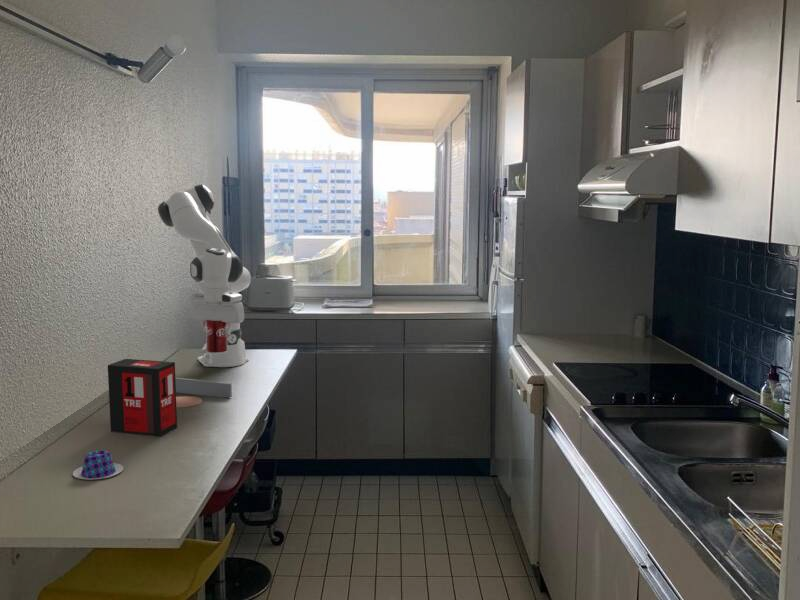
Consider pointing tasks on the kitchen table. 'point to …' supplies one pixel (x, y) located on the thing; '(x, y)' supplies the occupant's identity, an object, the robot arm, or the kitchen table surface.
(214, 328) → the soda can
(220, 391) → the acrylic wall
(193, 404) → the terracotta mat
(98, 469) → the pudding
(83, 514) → the kitchen table surface
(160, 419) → the cleaning product box
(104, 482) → the kitchen table surface
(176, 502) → the kitchen table surface
